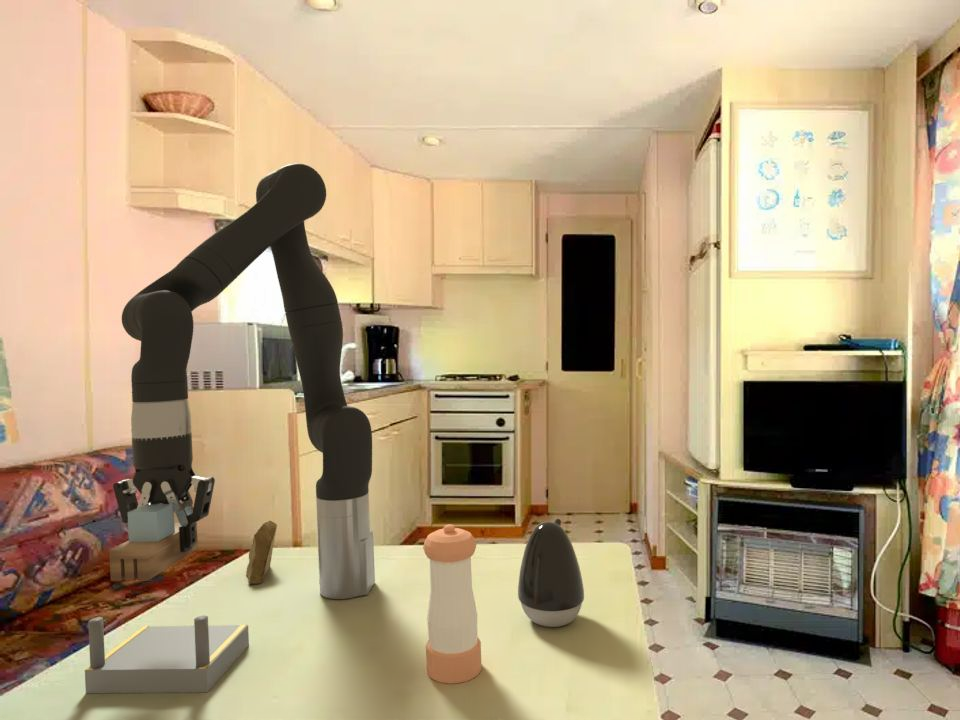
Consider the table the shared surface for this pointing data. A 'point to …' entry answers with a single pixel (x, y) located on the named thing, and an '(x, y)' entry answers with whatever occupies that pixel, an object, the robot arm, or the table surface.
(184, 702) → the table surface
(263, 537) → the rock
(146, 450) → the robot arm
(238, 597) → the table surface
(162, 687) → the dock
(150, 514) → the pale blue cube
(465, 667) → the salt shaker
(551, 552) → the dark grey egg shape
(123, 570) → the pallet
